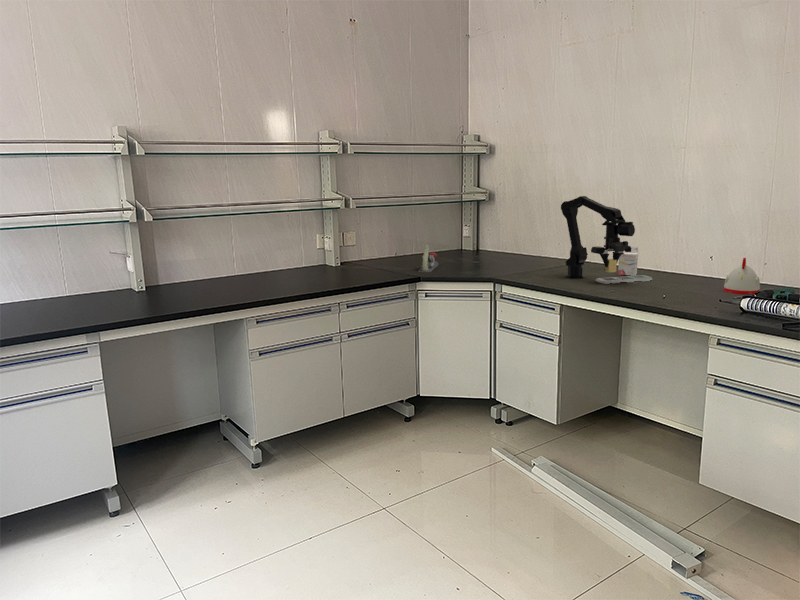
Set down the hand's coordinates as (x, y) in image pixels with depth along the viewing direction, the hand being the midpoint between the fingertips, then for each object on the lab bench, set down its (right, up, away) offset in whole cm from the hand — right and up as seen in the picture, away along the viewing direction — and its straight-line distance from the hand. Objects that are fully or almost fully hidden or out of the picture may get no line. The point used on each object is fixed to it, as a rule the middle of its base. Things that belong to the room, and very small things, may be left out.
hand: (610, 266), depth 290 cm
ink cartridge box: (+16, -4, +19) cm, 25 cm away
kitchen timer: (+49, -13, -27) cm, 57 cm away
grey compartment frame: (+8, -7, +3) cm, 11 cm away
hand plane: (-86, +2, +58) cm, 104 cm away
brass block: (0, -2, 0) cm, 2 cm away
